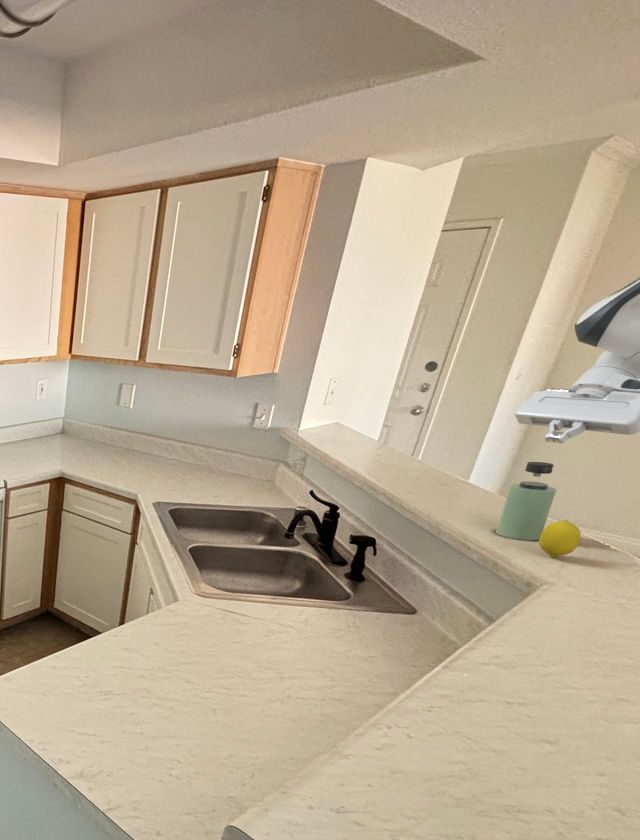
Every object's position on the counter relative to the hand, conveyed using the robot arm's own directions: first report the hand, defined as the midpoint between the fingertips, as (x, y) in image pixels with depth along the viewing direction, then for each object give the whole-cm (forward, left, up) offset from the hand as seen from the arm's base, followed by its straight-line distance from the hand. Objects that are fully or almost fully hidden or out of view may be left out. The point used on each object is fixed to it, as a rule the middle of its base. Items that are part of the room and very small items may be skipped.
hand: (553, 440), depth 126 cm
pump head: (+1, +3, -8) cm, 8 cm away
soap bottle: (+1, +1, -21) cm, 21 cm away
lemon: (0, +16, -21) cm, 27 cm away
